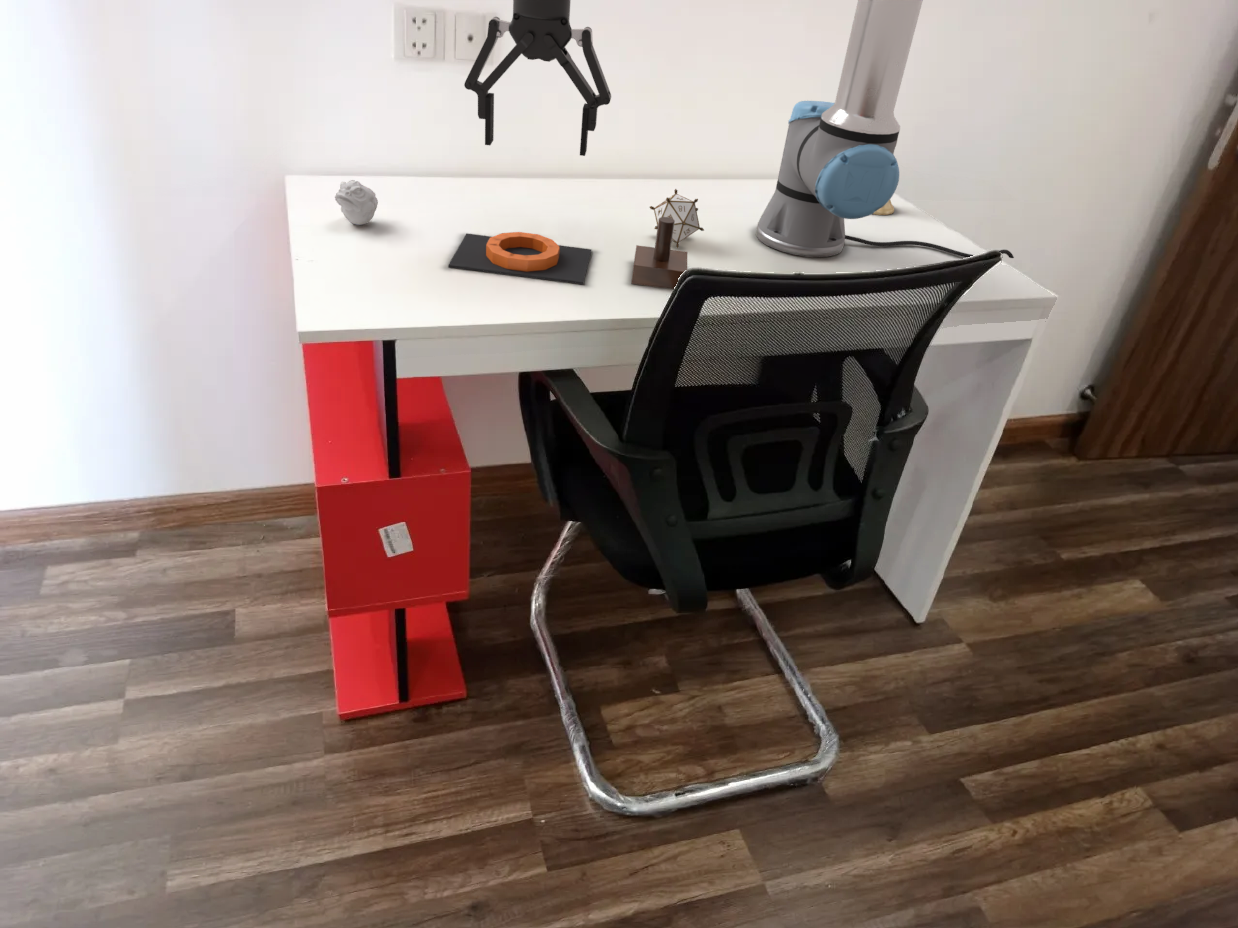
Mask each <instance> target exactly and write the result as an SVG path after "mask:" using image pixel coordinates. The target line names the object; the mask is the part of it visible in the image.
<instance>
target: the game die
mask: <svg viewBox="0 0 1238 928" xmlns="http://www.w3.org/2000/svg"><path fill="white" fill-rule="evenodd" d="M698 201H699V198H694V200H692V199H690V198H687V197H684V196H683V195H680V194H678V189H677V188H675V189H674V194H673V195H671V196H669V197H666V199H665V200H664V201H662V202H661V203H659V204H658V205H657V206H653V205H650V206H649V209H650V210H653V213H654V217H655V221H656V225H655V227H654V230H657V227H658V220H659V218H661V217H668V218H672V219H674V220H675V223H674V230H673V237H672V243H675V247H676V248H677V249H679V247H680V243H681V242H683V241H684V240H685V239H687V238H688V237H689V236H691V235H693V234H695V232H697V231H698V230H699V231H701V232H704V231H705V229H704V227H702V226H700V222H699V217H698V216H699V215H698V211H699V207H696V203H697V202H698Z"/></svg>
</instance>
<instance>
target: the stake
mask: <svg viewBox="0 0 1238 928" xmlns="http://www.w3.org/2000/svg"><path fill="white" fill-rule="evenodd" d="M674 223H675V220H674V219H672V218H668V217H661V218H659V220H658V227H657V229H656V236H655V241H654V242H655V244H654V247H652V246H646V245H645V246H644V245H637V244H636V246H635V253H634V259H633V268H632V276H631V285H637V286H646V287H652V288H662V289H668V290H675V289H674V287H675V286H676V284H677V282H678V278H679V277H680V275H681V274H682V273H683V272H684V271H685V270H687V271H688V255H689V254H688V251H684V250H676V249H672V243H673V241H672V237H673V230H674Z"/></svg>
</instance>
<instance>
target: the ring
mask: <svg viewBox="0 0 1238 928" xmlns="http://www.w3.org/2000/svg"><path fill="white" fill-rule="evenodd" d="M558 245H559V244H557V242H555V240H554V239H552V238H549V237H546V236H544V235H541V234H538V233H530V232H523V231H513V232H512V231H511V232H502V233H499V234H496V235H494V236H491V238H490V239H489V241H488V243H487V245H486V256H487V257H488V258H489V260H490V261H491V262H492V263H493V264H496V265H498V266H501V267H503V268H506V269H510V270H518V271H525V272H529V271H540V270H546V269H548V268H551V267H553V266H555V265H557V262H558V259H559V251H560V247H559V246H558ZM516 247H524V248H531V249H535V250H537V251H540V252H543V253H541V254H538V255H518V254H512V253H510V252H507V251H504V250H505V249H507V248H516Z"/></svg>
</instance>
